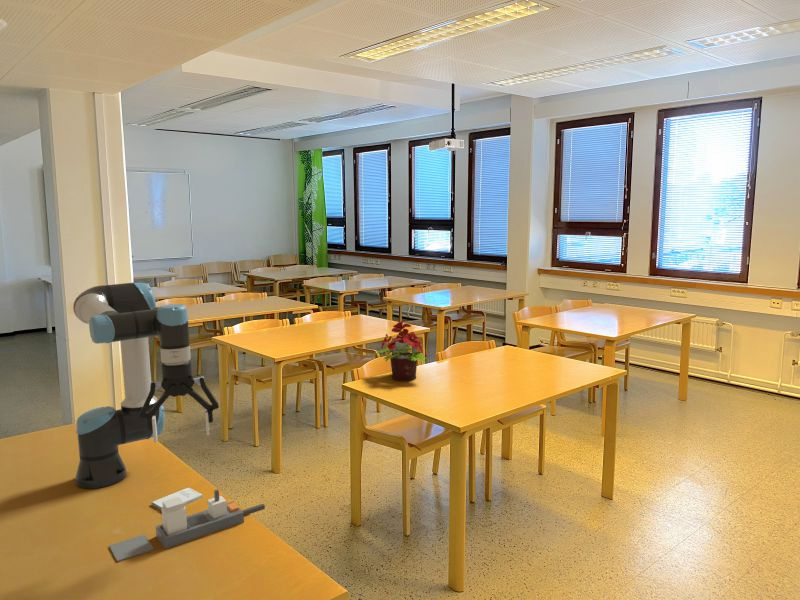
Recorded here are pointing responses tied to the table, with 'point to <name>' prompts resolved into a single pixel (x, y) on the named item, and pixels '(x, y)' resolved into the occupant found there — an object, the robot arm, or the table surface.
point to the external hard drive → (185, 495)
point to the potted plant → (403, 362)
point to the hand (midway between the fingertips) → (182, 437)
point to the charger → (174, 516)
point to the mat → (131, 547)
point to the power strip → (207, 521)
